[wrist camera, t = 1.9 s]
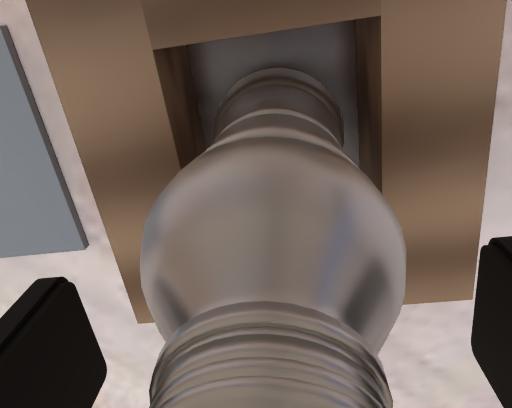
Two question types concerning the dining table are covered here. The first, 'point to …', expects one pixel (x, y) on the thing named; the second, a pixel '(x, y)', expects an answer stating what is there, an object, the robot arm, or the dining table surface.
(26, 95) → the pad
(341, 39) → the dining table surface
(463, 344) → the dining table surface
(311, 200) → the plastic bottle
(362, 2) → the bore block
